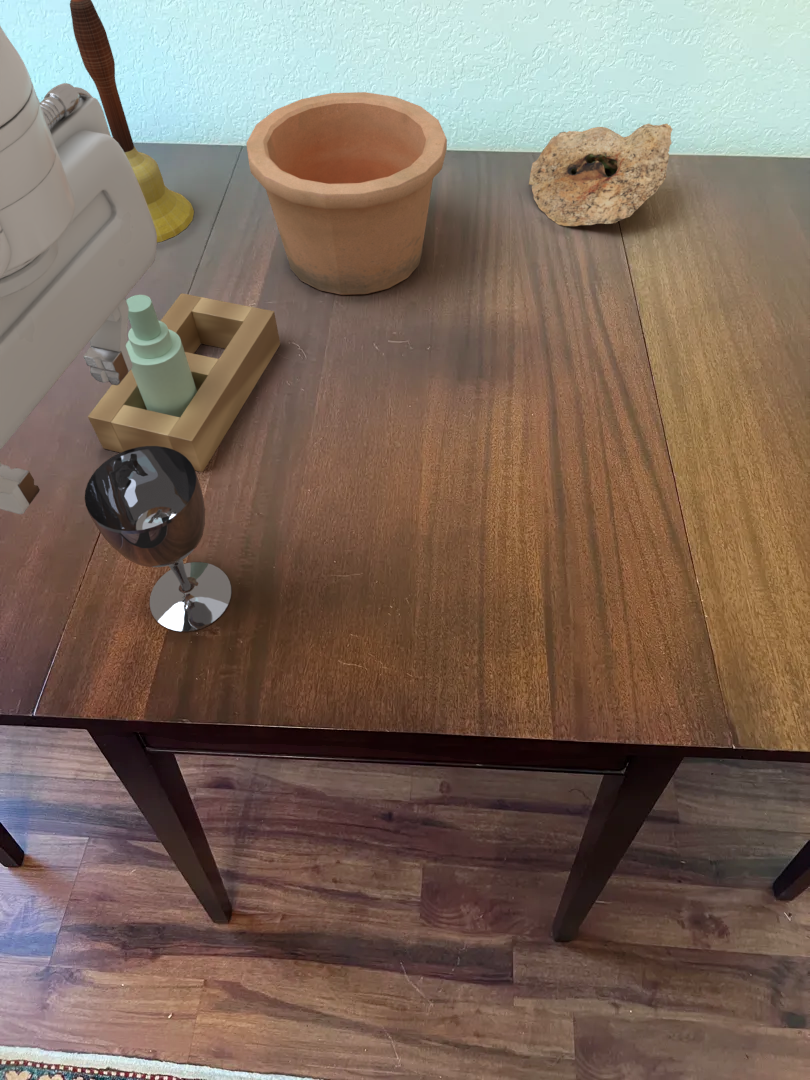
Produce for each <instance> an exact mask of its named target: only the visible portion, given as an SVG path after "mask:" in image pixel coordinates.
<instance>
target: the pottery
mask: <svg viewBox="0 0 810 1080" xmlns="http://www.w3.org/2000/svg"><path fill="white" fill-rule="evenodd" d="M447 150H448V139H447V136H446V134H445V132H444V129H443V127H442V124H441V123H440V120H439V119H437V117H435V116H434V115H433V114H431V113H430V112H429V111H427V110H426V109H425V108H424V107H422V106H421V105H419V104H416V103H413V102H410V101H407V100H405V99H403V98H399V97H397V96H393V95H387V94H380V93H374V92H367V91H359V92H357V91H355V92H330V93H326V94H325V93H324V94H321V95H315V96H311V97H305V98H301V99H299V100H296V101H293V102H291V103H289V104H288V103H287V104H286V105H284V106H281V107H279V108H277V109H275V110H273V111H272V112H270V113H269V114H267V116H265V117H264V118H263V119H261V120H260V121H259V122H258V123H256V124H255V125H254V128H253V129H252V132H251V133H250V135H249V137H248V139H247V141H246V151H247V158H248V165H249V170H250V174H251V175H252V176H253V177H254V178H255V179H256V181H257V182H259V184H260V185H261V186H262V187H263V188H264V189H265V193H266V194H267V198H268V201H269V204H270V208H271V210H272V213H273V216H274V221H275V224H276V225H277V229H278V232H279V235H280V238H281V242H282V245H283V249H284V251H285V255H286V257H287V261H288V264H289V269H290V270H291V271H292V272H293V273H294V274H295V275H296V277H297V278H298V279H299V281H301V282H304V283H305V284H307V285H309V286H310V287H313V288H315V289H316V290H318V291H321V292H326V293H332V294H336V295H341V296H348V295H349V296H350V295H351V296H353V295H356V296H357V295H368V294H373V293H377V292H381V291H385V290H388V289H390V288H392V287H394V286H396V285H398V284H399V283H401V282H403V281H404V280H406V279H408V278H409V277H410V276H411V275H412V273H413V272H414V271H416V269H417V268H418V267H419V266H420V263H421V259H422V255H423V249H424V248H423V246H424V240H425V233H426V227H427V220H428V215H429V209H430V201H431V194H432V189H433V182H434V178H435V177H436V176H437V175H438V174H439V173H440V172H441V171H442V169H443V167H444V162H445V157H446V154H447Z"/></svg>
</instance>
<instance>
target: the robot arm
mask: <svg viewBox="0 0 810 1080" xmlns="http://www.w3.org/2000/svg"><path fill="white" fill-rule="evenodd" d="M157 246H158V242H157V234H156V229H155V226H154V223H153V220H152V217H151V214H150V211H149V209H148V206H147V203H146V201H145V198H144V195H143V193H142V190H141V188H140V185H139V183H138V180H137V178H136V176H135V174H134V171H133V169H132V167H131V164H130V162H129V160H128V158H127V156H126V154H125V153H124V151H123V149H122V148H121V146H120V145H119V144H118V142H117V141H116V140H115V139H114V138H113V137H112V134H111V131H110V128H109V124H108V121H107V118H106V115H105V112H104V109H103V106H102V104H101V103H100V101H99V100H98V99H97V98H96V97H93V96H92V94H91V93H90V92H89V91H87V90H86V89H84V88H83V87H78V86H73V85H72V84H71V83H67V82H63V83H61V84H57V85H55V86H54V87H52V88H51V89H50V90H49V91H48V92H47V93H46V94H45V95H44V97H43V99H42V100H41V101H40V100H39V97H38V95H37V92H36V89H35V87H34V84H33V82H32V78H31V75H30V73H29V71H28V68H27V66H26V64H25V62H24V60H23V59H22V57H21V55H20V54H19V52H18V51H17V49H16V48H15V46H14V45H13V43H12V42H11V40H10V39H9V37H8V35H6V33H5V31H4V29H3V28H2V26H1V25H0V451H2V449H3V448H4V447H5V446H6V444H7V443H8V442H9V440H10V439H11V438H12V437H13V435H14V434H15V433H16V432H17V431H18V429H20V427H21V426H22V425H23V423H24V422H25V421H26V420H27V418H29V416H30V415H31V413H32V412H33V411H34V410H35V409H36V408H37V406H38V405H39V404H40V403H41V401H42V400H43V399H44V398H45V397H46V396H47V394H48V393H49V392H50V390H51V389H52V388H53V386H54V385H55V384H56V383H57V381H59V379H60V378H61V377H62V375H63V374H64V373H65V372H66V371H67V370H68V369H69V367H70V366H71V365H72V363H73V362H74V360H75V359H76V358H77V357H78V356H79V355H80V353H81V352H82V351H83V350H84V349H85V347H86V346H87V345H88V344H89V346H90V347H89V348H88V349H87V350H86V351H85V353H84V354H83V360H84V361H85V363H86V366H87V367H89V373H90V375H91V377H93V379H94V380H95V381H97V382H99V383H102V384H107V383H109V384H110V386H111V385H119V384H120V383H121V381H122V380H123V379H124V378H125V376H126V375H127V374H128V372H129V371H130V370H131V369H132V366H133V365H132V362H131V359H130V356H129V354H128V351H127V348H126V344H127V342H128V329H129V327H128V326H129V319H128V311H129V307H128V304H127V302H126V300H127V299H126V297H127V296H128V295H129V294H130V292H131V291H132V290H133V288H134V287H135V286H136V285H137V284H138V282H139V281H140V280H141V279H142V278H143V276H144V275H145V274H146V272H147V271H148V270H149V269H150V268H151V266H152V265H153V264H154V262H155V261H156V256H157V248H158V247H157ZM40 490H41V489H40V487H39V485H38V484H37V485H36V484H35V479H34V477H33V476H32V474H31V471H29V470H28V469H23V468H19V467H15V468H11V467H10V466H9V465H7V464H3V463H2V462H1V461H0V510H1V511H4V512H9V513H13V514H17V515H23V514H25V513H26V511H27V510H28V508H29V507H30V505H31V504H32V502H33V501H34V500H35V498H36V497H37V496H38V494H39V493H40Z"/></svg>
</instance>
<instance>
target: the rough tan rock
mask: <svg viewBox="0 0 810 1080" xmlns="http://www.w3.org/2000/svg"><path fill="white" fill-rule="evenodd" d="M672 132H673V128H672V126H671V125H669V124H668V123H663V124H658V125H657V124H656V125H655V124H651V123H645V124H643V125H641V126H640V127H638V128H636V129H635V130H634V131H633V132H631V133H630V135H627V136H622V135H620V134H619V133H618V132H615V131H614V130H612V129H610V128H608V127H605V126H595V127H591V128H588V129H585V130H583V131H579V130H578V131H577V130H568V131H567V132H566V131H561V132H559V133H557V134H556V135H554V136H552V138H550V139H549V141H548V143H547V144H546V145H545V147H544V148H543V149H542V151H541V152H540V155H539V157H537V159H536V160H535V161H533V162H532V164H531V169H530V173H529V178H528V179H529V180H528V186H531V190H532V191H531V192H532V195H533V200H534V201H535V203H536V205H537V207H538V209H539V210H540V211H542V213H544V215H546V216H547V218H548V219H550V220H551V221H552V222H554V223H555V224H556V225H558V226H563V227H579V226H593V225H596V224H597V225H598V224H603V225H604V224H605V225H611V224H617V223H618V222H619V221H622V220H624V219H627V218H630V217H631V216H632V215H634V213H635V212H636V211H637V210H638V209H640V207H641V206H643V204H645V202H646V201H647V200H648V199H649V198H651V197H652V196H653V195H654V194H657V191H658V189H659V188H661V186H662V185H663V183H664V182H665V180H666V178H667V170H668V163H669V160H670V153H669V152H670V147H671V146H672V139H671V138H672Z"/></svg>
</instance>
